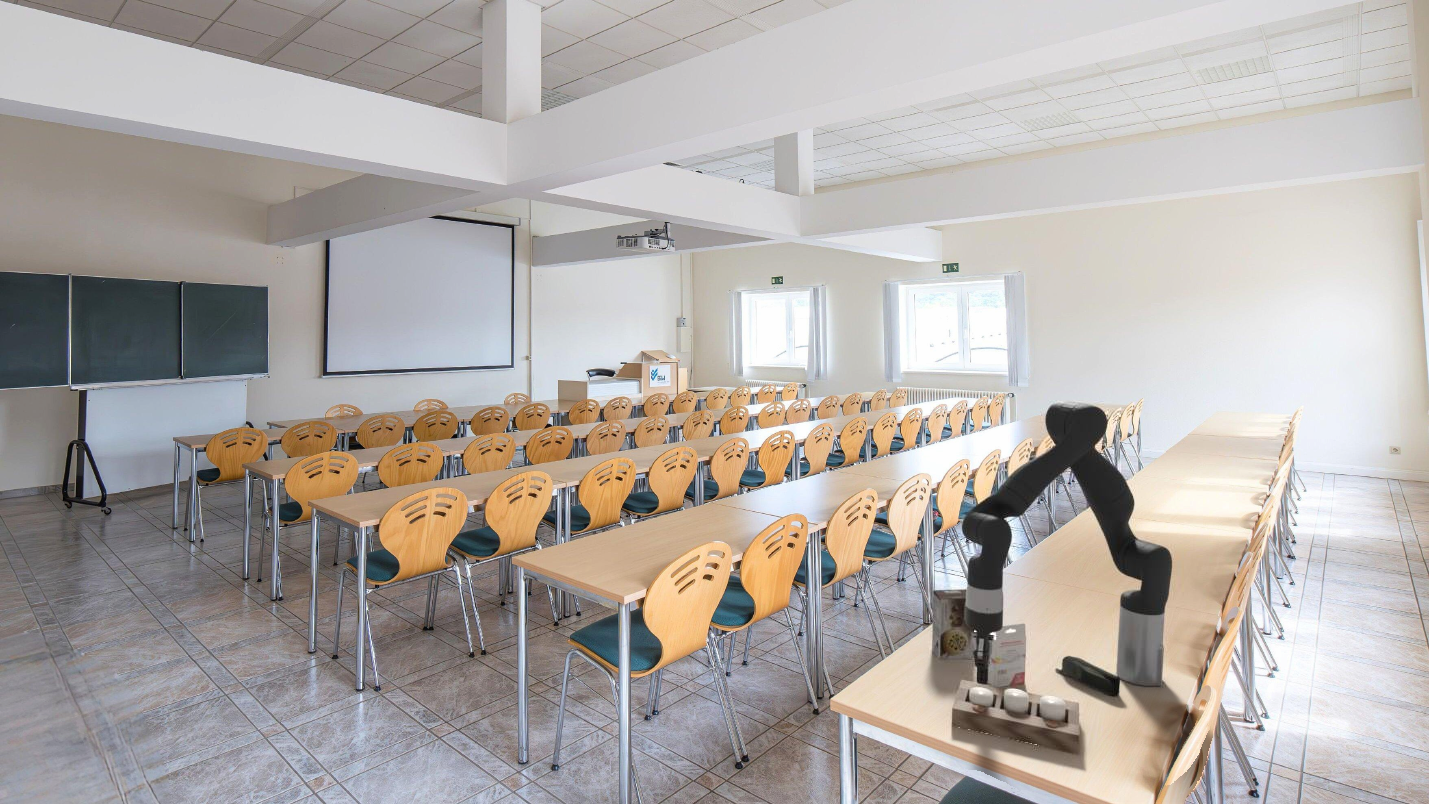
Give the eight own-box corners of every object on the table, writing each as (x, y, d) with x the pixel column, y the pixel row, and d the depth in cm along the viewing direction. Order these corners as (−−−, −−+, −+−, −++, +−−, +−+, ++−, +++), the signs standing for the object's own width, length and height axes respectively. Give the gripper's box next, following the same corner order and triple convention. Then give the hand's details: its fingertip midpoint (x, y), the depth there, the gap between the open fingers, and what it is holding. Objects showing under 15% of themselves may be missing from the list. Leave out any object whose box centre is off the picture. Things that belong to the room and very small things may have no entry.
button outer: (993, 707, 160) (994, 690, 160) (991, 718, 156) (992, 700, 155) (970, 702, 162) (971, 685, 162) (967, 712, 158) (968, 695, 157)
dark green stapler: (1122, 675, 168) (1062, 649, 180) (1115, 679, 166) (1054, 652, 179) (1120, 696, 168) (1060, 669, 181) (1113, 699, 167) (1053, 671, 179)
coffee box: (965, 648, 193) (967, 588, 191) (974, 659, 186) (976, 597, 185) (930, 649, 192) (932, 589, 191) (939, 660, 186) (940, 598, 184)
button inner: (1064, 717, 154) (1065, 698, 153) (1064, 728, 150) (1065, 709, 149) (1039, 711, 156) (1040, 693, 156) (1038, 722, 152) (1039, 704, 151)
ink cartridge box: (1011, 674, 178) (1013, 615, 177) (1025, 683, 174) (1027, 623, 172) (980, 678, 176) (983, 619, 175) (994, 688, 171) (996, 627, 170)
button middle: (1028, 709, 157) (1029, 691, 156) (1027, 720, 153) (1028, 701, 152) (1004, 704, 159) (1005, 686, 159) (1002, 714, 155) (1003, 696, 154)
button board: (1078, 720, 157) (1079, 702, 157) (1078, 754, 145) (1079, 734, 144) (960, 696, 168) (961, 678, 167) (951, 726, 155) (952, 707, 155)
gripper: (1000, 619, 149) (997, 700, 151) (1005, 597, 161) (1003, 672, 163) (961, 613, 152) (959, 692, 154) (969, 592, 164) (968, 666, 166)
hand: (982, 682), depth 158 cm, fingers closed
